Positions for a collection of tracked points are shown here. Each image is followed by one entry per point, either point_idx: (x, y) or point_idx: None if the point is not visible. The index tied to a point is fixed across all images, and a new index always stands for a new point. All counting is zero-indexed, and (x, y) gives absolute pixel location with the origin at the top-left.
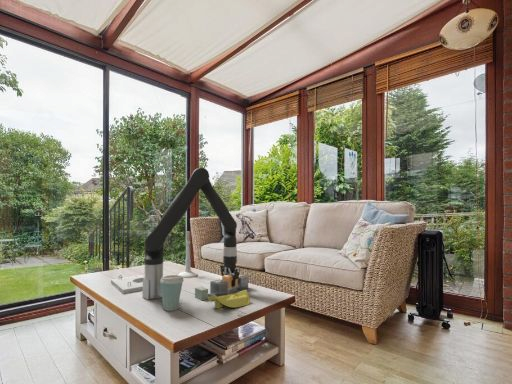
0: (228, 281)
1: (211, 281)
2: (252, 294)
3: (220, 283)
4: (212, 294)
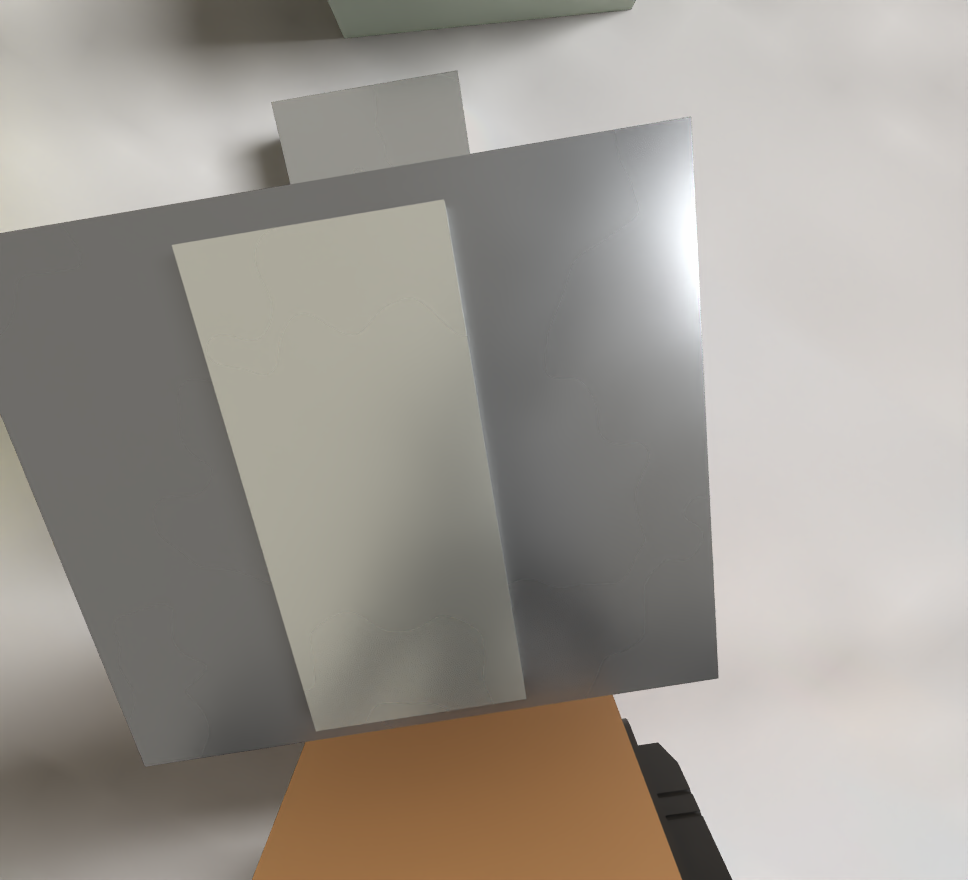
0: (274, 825)
1: (656, 181)
2: (108, 858)
3: (3, 372)
4: (337, 153)
